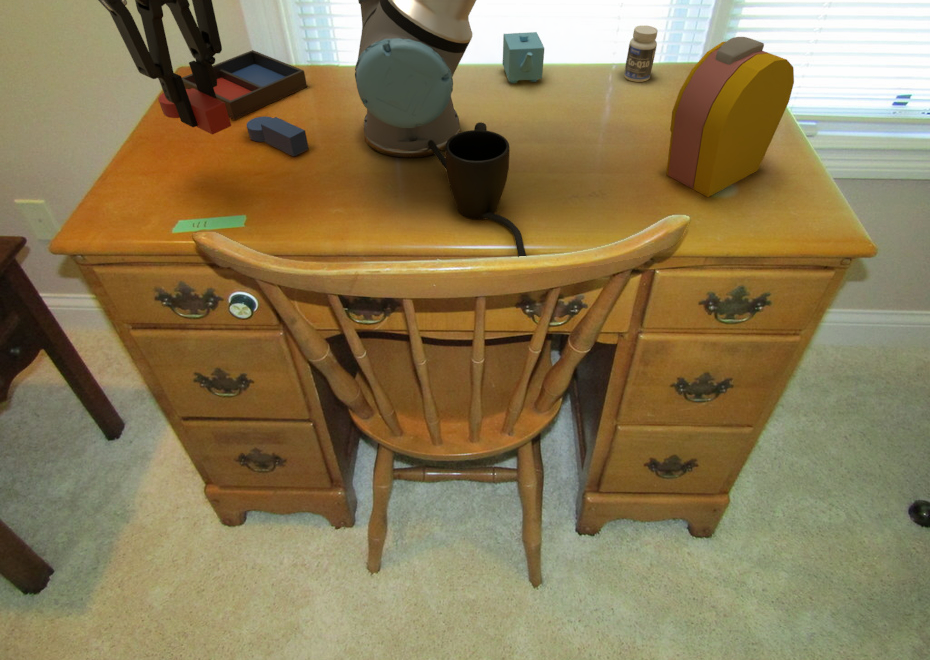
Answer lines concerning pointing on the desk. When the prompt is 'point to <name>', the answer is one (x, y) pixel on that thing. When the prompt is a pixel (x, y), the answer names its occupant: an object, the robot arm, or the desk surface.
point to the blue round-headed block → (278, 134)
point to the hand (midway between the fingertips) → (201, 117)
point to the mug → (477, 170)
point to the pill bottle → (641, 54)
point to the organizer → (252, 82)
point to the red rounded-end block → (201, 111)
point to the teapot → (523, 56)
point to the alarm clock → (727, 115)
